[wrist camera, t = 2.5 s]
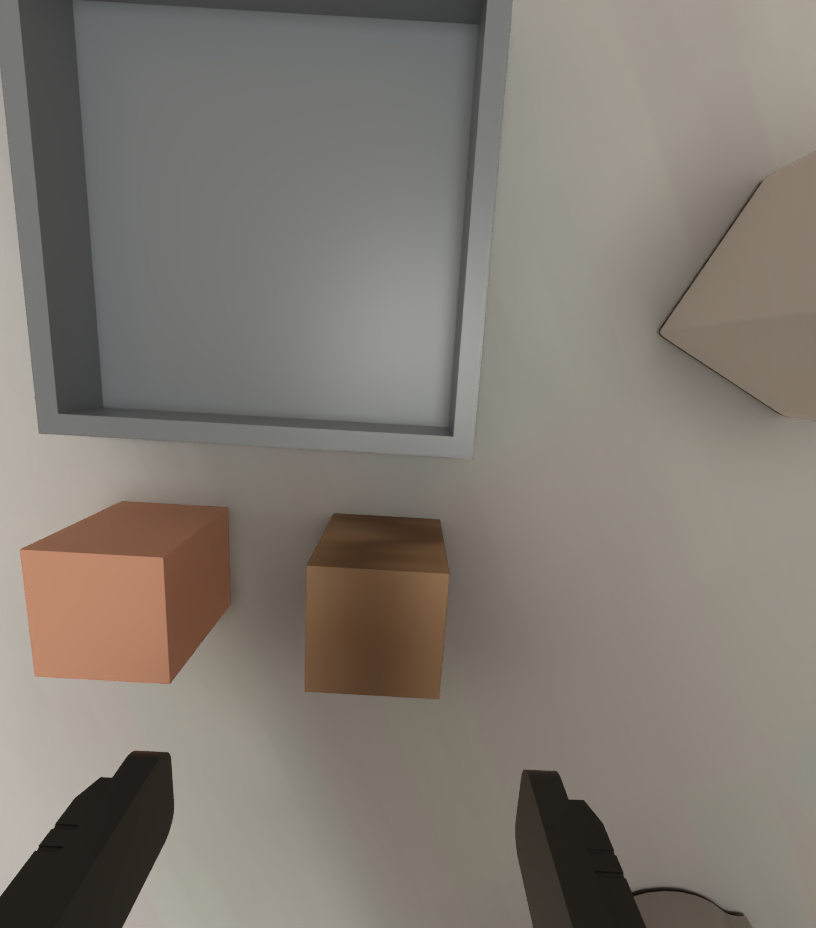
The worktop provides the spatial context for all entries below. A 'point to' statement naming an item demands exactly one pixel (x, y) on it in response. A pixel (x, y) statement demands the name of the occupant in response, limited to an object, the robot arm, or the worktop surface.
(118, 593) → the terracotta block
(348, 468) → the worktop surface
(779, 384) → the milk carton
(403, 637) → the walnut block
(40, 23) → the tray
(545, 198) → the worktop surface
